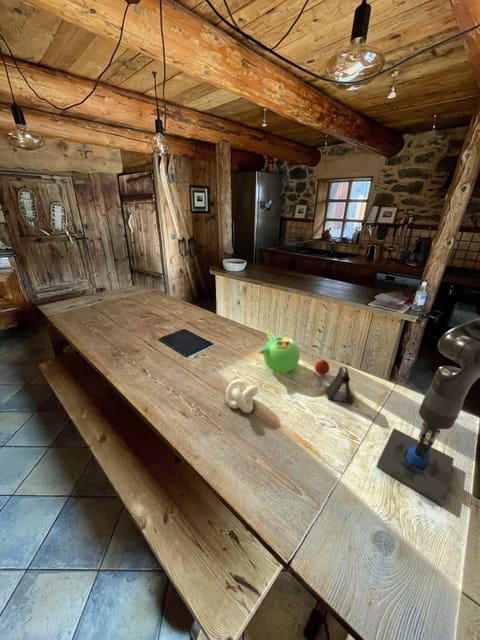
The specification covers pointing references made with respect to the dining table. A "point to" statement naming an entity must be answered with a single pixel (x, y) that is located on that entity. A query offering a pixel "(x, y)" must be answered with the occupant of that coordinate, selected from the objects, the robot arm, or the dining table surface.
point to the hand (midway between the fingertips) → (419, 451)
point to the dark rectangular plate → (422, 480)
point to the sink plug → (416, 458)
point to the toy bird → (280, 353)
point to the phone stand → (335, 386)
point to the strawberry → (322, 367)
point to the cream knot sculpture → (240, 395)
